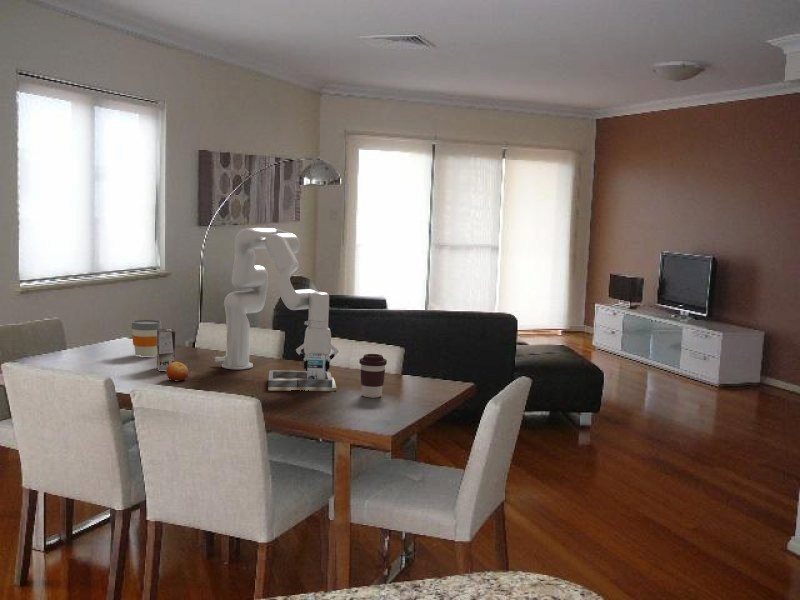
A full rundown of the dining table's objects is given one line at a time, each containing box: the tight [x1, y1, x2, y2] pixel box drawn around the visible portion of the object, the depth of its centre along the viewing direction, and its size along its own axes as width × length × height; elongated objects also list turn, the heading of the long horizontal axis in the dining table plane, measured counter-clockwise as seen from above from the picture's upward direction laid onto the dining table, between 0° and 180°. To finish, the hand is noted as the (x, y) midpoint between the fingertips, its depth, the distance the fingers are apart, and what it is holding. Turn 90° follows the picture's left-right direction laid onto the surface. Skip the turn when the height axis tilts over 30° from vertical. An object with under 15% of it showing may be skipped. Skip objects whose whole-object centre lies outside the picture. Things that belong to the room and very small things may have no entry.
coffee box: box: [156, 327, 176, 371], centre depth 324 cm, size 9×6×16 cm
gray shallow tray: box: [267, 369, 337, 392], centre depth 307 cm, size 25×18×4 cm
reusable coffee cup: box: [131, 319, 163, 356], centre depth 350 cm, size 13×12×15 cm
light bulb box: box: [307, 354, 327, 380], centre depth 307 cm, size 11×7×11 cm, turn 3°
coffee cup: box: [359, 353, 388, 399], centre depth 294 cm, size 10×10×15 cm
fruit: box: [166, 361, 189, 381], centre depth 306 cm, size 8×8×8 cm
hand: (316, 370), depth 307 cm, fingers closed on light bulb box, 7 cm apart
